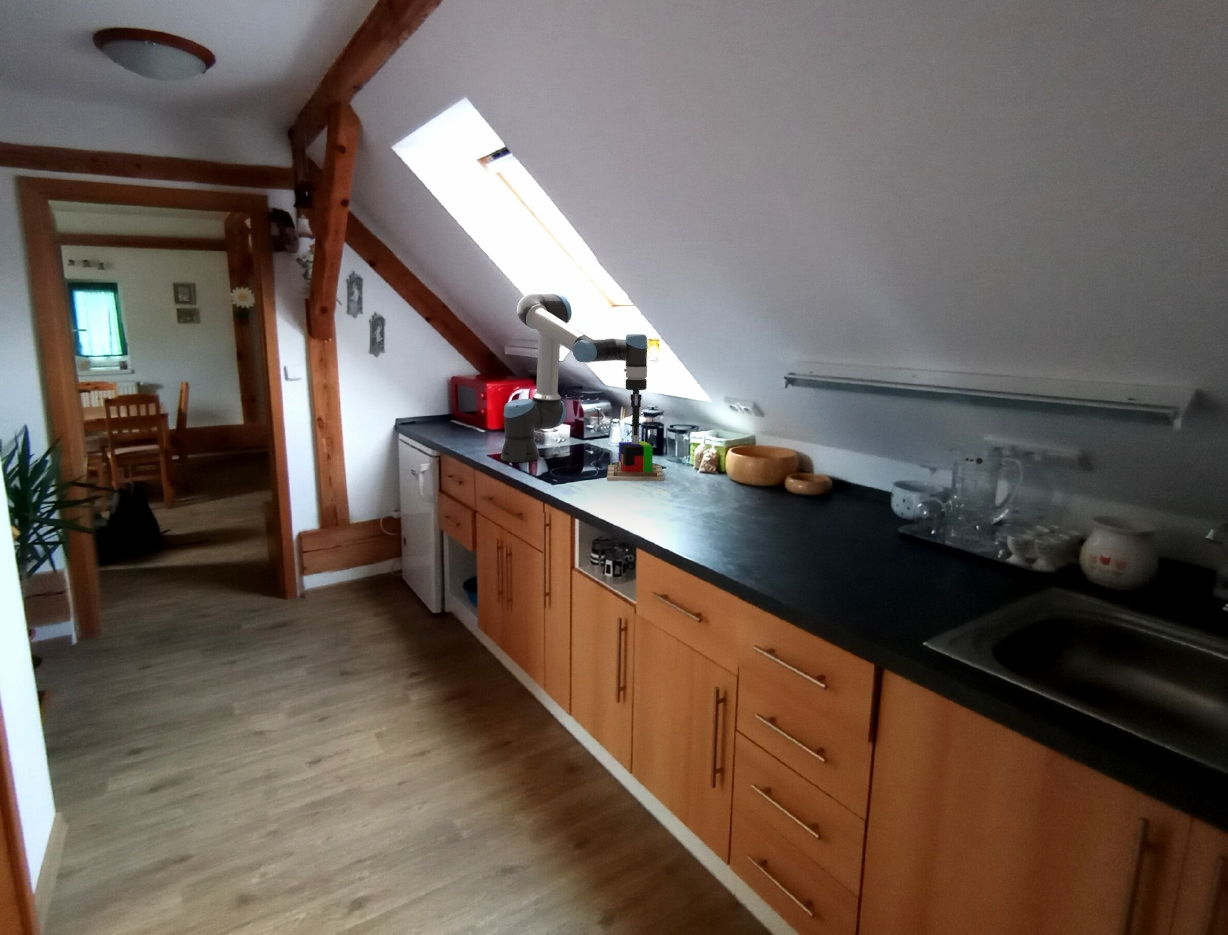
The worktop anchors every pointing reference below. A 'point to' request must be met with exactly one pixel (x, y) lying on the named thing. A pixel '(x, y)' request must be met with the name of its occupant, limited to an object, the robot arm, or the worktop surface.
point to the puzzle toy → (635, 457)
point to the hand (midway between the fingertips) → (635, 443)
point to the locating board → (635, 474)
